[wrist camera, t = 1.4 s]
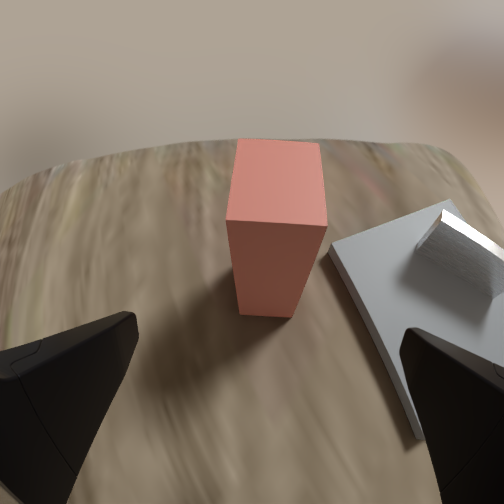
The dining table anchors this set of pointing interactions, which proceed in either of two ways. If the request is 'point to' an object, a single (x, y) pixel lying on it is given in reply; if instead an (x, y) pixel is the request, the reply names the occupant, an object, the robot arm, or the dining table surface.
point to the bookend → (464, 254)
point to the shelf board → (415, 296)
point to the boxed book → (274, 223)
